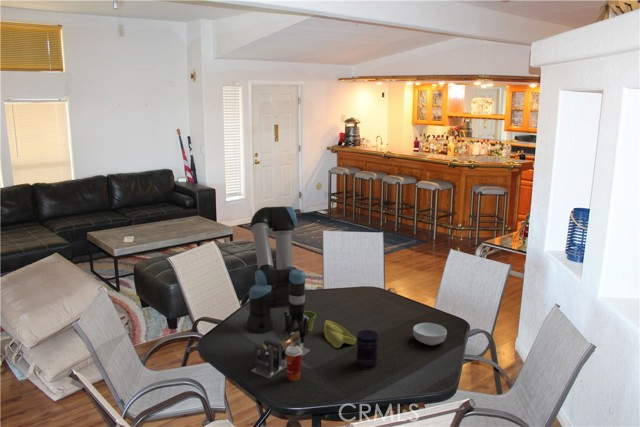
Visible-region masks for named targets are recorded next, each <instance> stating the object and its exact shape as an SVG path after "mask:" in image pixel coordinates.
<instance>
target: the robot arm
mask: <svg viewBox="0 0 640 427" xmlns="http://www.w3.org/2000/svg"><path fill="white" fill-rule="evenodd" d="M297 223H298V219H297V214H296V211H295V209H294V208H293V207H292V206H287V205H286V206H285V205H284V206H282V205H281V206H263V207H261V208H259V209H258V210H257V211H256V212H255V213H253V216H252V218H251V220H250V232H251V233H252V235H253V240H254V241H253V242H254V247H255V248H254V249H255V256H256V261H257V268H258V270H256V271H255V273H254V274H255V275H254V280H255V284H254V285H253V286H251V287H250V289H249V294H248V298H249V299H248V300H249V304H248V305H249V307H248V308H249V314H248V317H247V321H246V325H245V327H246V330H247V331H249V332H251V333H253V334H254V333H256V334H263V333H269V332H271V331H273V330H274V329H275V325H276V324H275V320H274V318H273V315H272V309H284V308H288V310H286V311H285V312H284V313H283V314H284V320H285V321H284V323H285V324H284V326H285V330H284V331H285V332H287V333H288V336H290V335H292V334H293V333H295V324H296V323H297V327H298V331H299V333H300V336H299V341H298V347H300V348H303V347H304V343H305V337H307V336H308V335H309V331H308V321H309V317H306V316H305V314H304V311H305V308H306V306H305V300H306V296H305V295H306V289H305V288H306V274H305V271H304V270H302V269H298V268H297V267H296V266H294V265H293V244H292V243H293V242H292V235H293V233H294V231H295V228H297V226H298V224H297ZM270 229H271V230H272V232H271V233H273V235H274V236H275V255H276V256H275V257H276V269H275V268H274V262H273V261H274V260H273V256H272V250H271V244H270V238H269V231H270ZM303 318H304V320H303ZM303 321H304V322H303ZM293 345H294V344H293ZM293 345H292V346H293Z"/></svg>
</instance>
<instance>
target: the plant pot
mask: <svg viewBox="0 0 640 427" xmlns="http://www.w3.org/2000/svg"><path fill="white" fill-rule="evenodd" d="M304 314H305V316H306V317H309V321H308V332H312V331H313V328H314V322H315V319H316V316H317V314H316V312H314V311H310V310H304ZM303 320H304V318H303ZM303 322H304V321H303Z"/></svg>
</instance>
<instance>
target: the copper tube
mask: <svg viewBox="0 0 640 427" xmlns="http://www.w3.org/2000/svg"><path fill="white" fill-rule="evenodd" d="M299 336H300V333H299V330H297V331H294V333H293V334H292V335H290V336H289V335H288V336H286V337H285V338H284V339H282V340H280V341H279V342H277V343H280V344H282V351H284V350H285V349H286V348H287V347H289V346H292V345H293V344H295V345H296V343H299ZM270 348H272V349H273V356H275V355H277V347H274V346H271V347H270Z"/></svg>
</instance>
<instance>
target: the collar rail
mask: <svg viewBox="0 0 640 427" xmlns="http://www.w3.org/2000/svg"><path fill="white" fill-rule="evenodd" d="M298 345H299V344H298ZM298 345H297V344H296V343H295V344H294V345H293V346H298ZM269 346H271V347H272V346H274V347H277V355H273V349H272V348H271V347H269ZM301 349H302V356H301V358H302V357H303V356H305V355H306V354H307V353H309V352H310V351H311V349H309V348H306V347H304V346H303V348H301ZM254 351H255V352H254V354H255V355H254V356H255V366H254V368H253V369H251V373H253V374H257V375H258V376H262V377H264V378H267V379H270V378H271V377H273V376H275V375H277V374H278V373H279V372H281V371H282V370H284V369H286V368H287V367H286V353H285V351H286V349H285V350H284V351H282V344H280V343H278V342H276V341H274V340H271V339H268V338H266V339H264V340H263V344H260V343H256V344H255V346H254ZM261 351H263V360H262V359H261Z"/></svg>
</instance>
